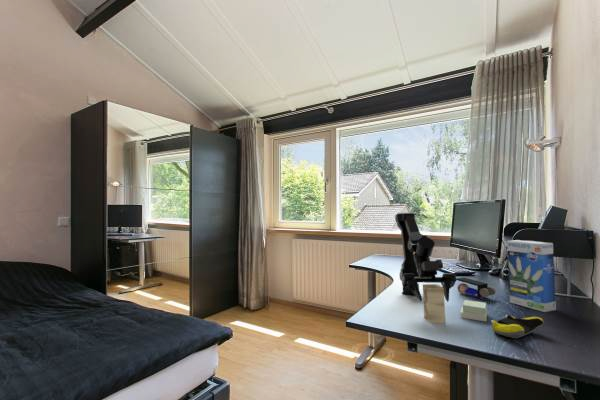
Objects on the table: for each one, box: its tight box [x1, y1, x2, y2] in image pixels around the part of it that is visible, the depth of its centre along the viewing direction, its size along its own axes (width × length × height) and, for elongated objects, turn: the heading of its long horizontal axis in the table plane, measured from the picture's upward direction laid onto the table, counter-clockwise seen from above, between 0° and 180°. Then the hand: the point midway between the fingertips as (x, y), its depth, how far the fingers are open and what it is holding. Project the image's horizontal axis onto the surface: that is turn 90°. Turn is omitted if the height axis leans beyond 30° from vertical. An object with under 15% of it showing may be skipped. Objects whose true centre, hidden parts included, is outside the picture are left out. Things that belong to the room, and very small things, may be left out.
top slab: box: [462, 299, 488, 315], centre depth 108 cm, size 7×7×2 cm
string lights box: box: [506, 239, 557, 313], centre depth 117 cm, size 13×8×26 cm, turn 21°
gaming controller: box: [490, 314, 545, 339], centre depth 91 cm, size 15×6×10 cm
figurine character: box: [456, 277, 497, 301], centre depth 131 cm, size 7×8×15 cm
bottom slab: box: [460, 305, 488, 322], centre depth 108 cm, size 8×8×2 cm
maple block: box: [422, 283, 446, 324], centre depth 105 cm, size 6×6×12 cm
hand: (434, 300), depth 104 cm, fingers open, 9 cm apart
